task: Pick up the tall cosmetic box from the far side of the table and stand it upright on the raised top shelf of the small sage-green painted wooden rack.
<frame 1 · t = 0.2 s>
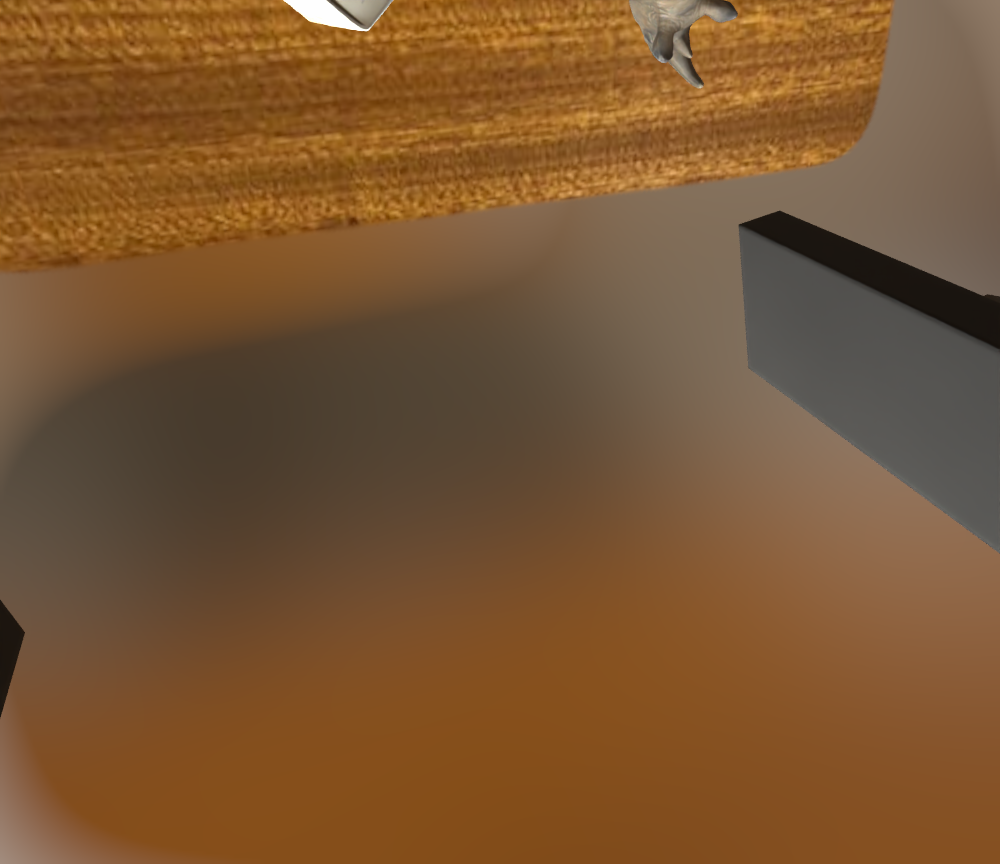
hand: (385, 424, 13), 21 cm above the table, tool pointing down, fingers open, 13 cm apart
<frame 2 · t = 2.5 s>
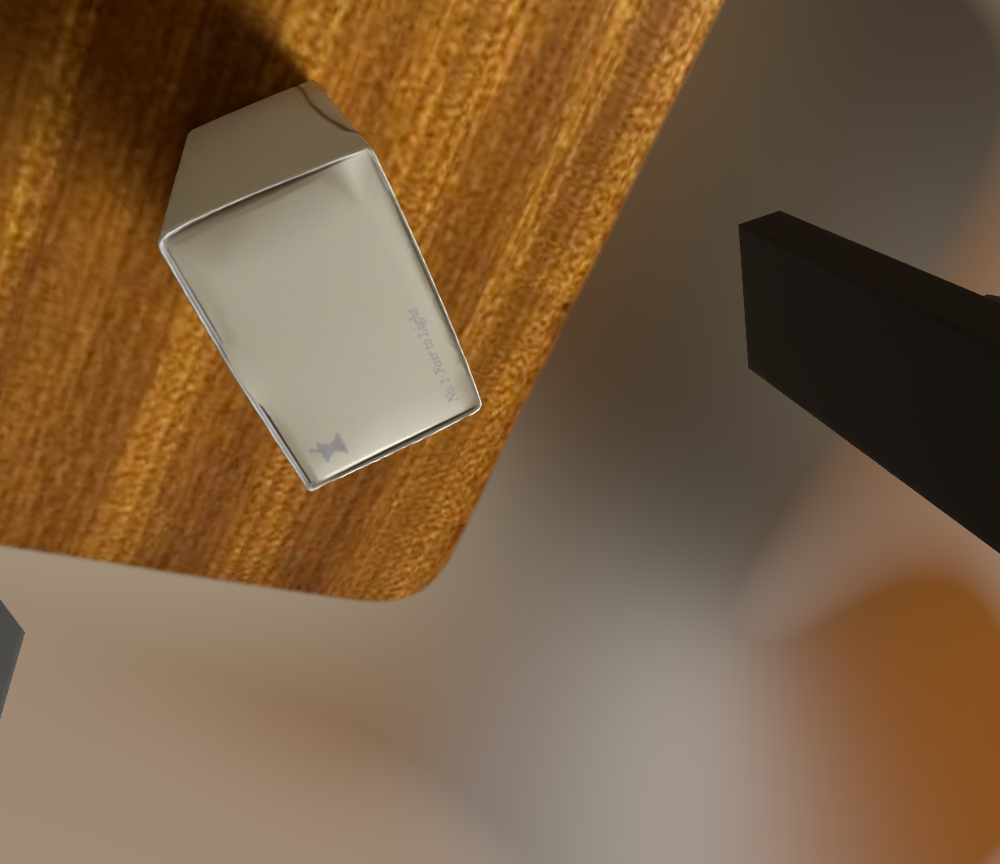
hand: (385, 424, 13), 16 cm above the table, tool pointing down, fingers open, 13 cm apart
cosmetic box: (289, 195, 26), on the table
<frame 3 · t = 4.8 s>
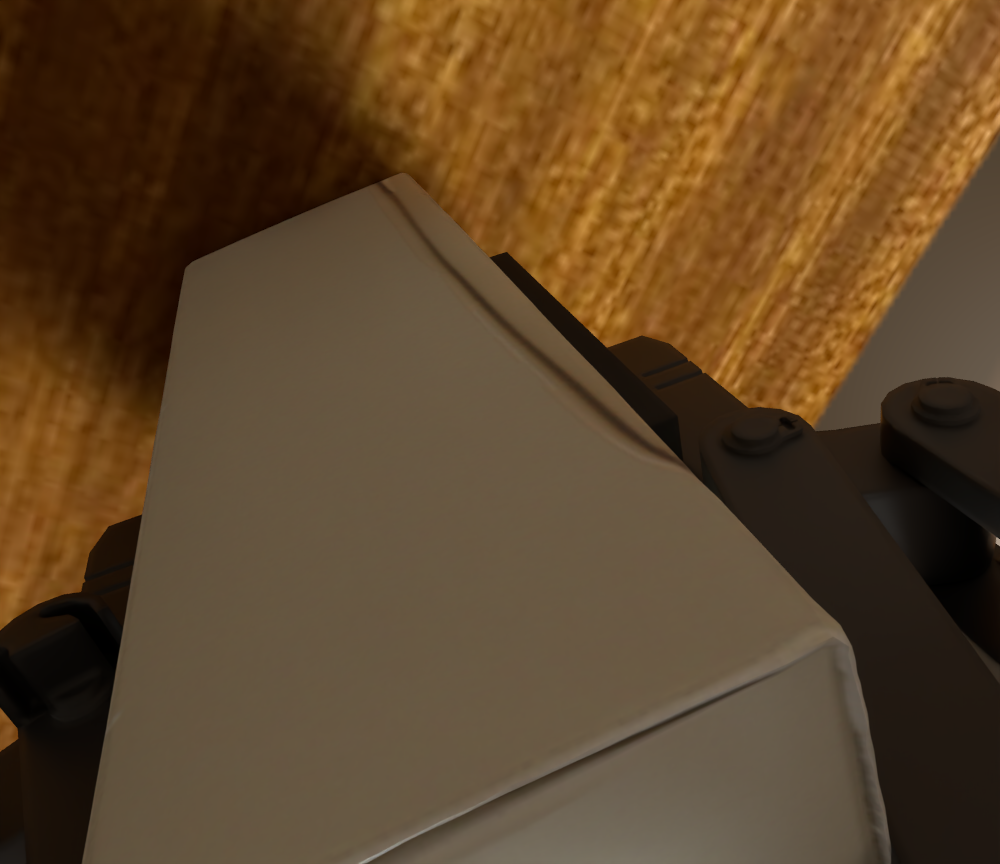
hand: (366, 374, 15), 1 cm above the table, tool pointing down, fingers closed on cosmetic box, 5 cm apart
cosmetic box: (355, 356, 16), on the table, touching gripper
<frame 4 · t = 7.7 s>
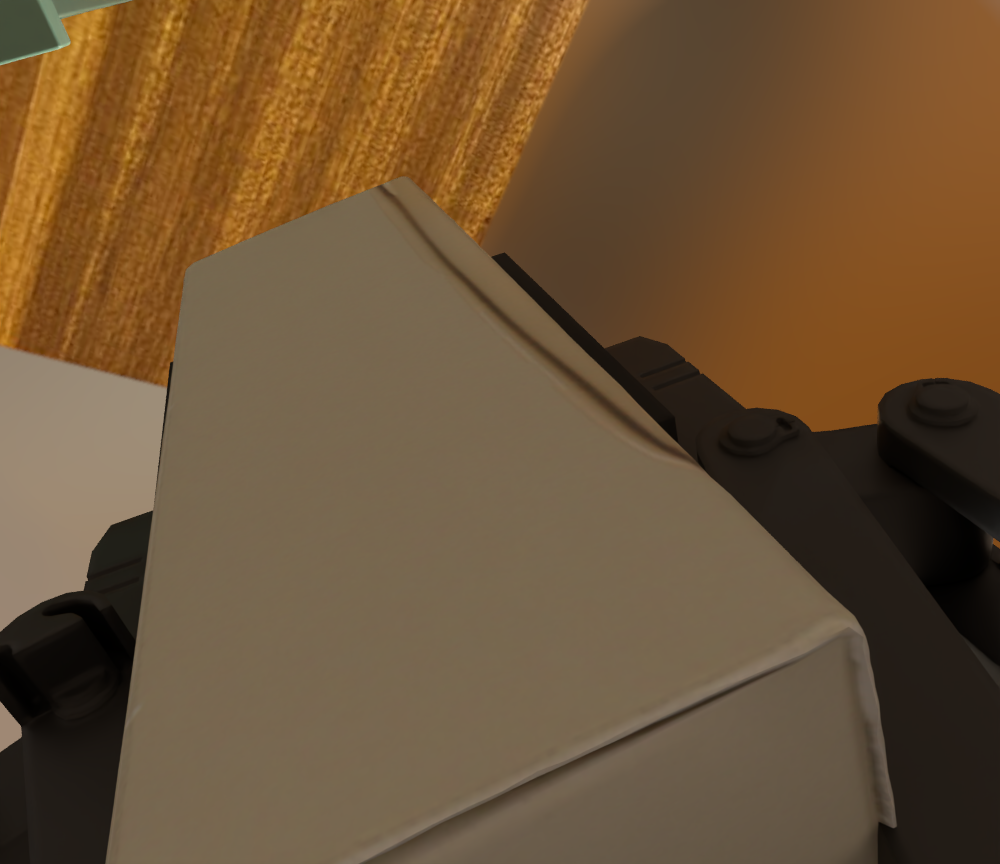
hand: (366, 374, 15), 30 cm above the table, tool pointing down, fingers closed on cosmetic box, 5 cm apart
cosmetic box: (354, 358, 16), point 29 cm above the table, touching gripper
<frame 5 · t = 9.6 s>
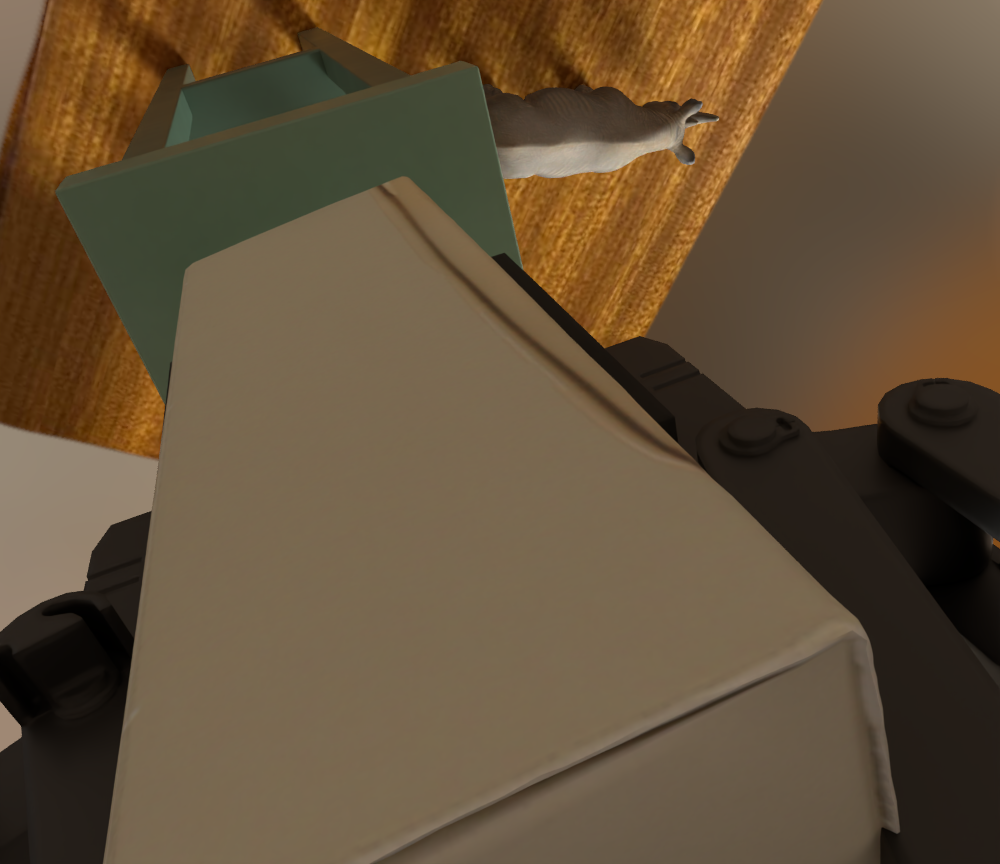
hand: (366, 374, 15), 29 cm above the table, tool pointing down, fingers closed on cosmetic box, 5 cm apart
rack stand: (271, 127, 39), on the table
rack: (343, 321, 17), resting on rack stand
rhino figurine: (568, 120, 43), on the table
cosmetic box: (354, 358, 16), point 28 cm above the table, touching gripper
when the fingers open (27 cm above the table, at t = 10.5 s): cosmetic box stays where it is, resting on rack.
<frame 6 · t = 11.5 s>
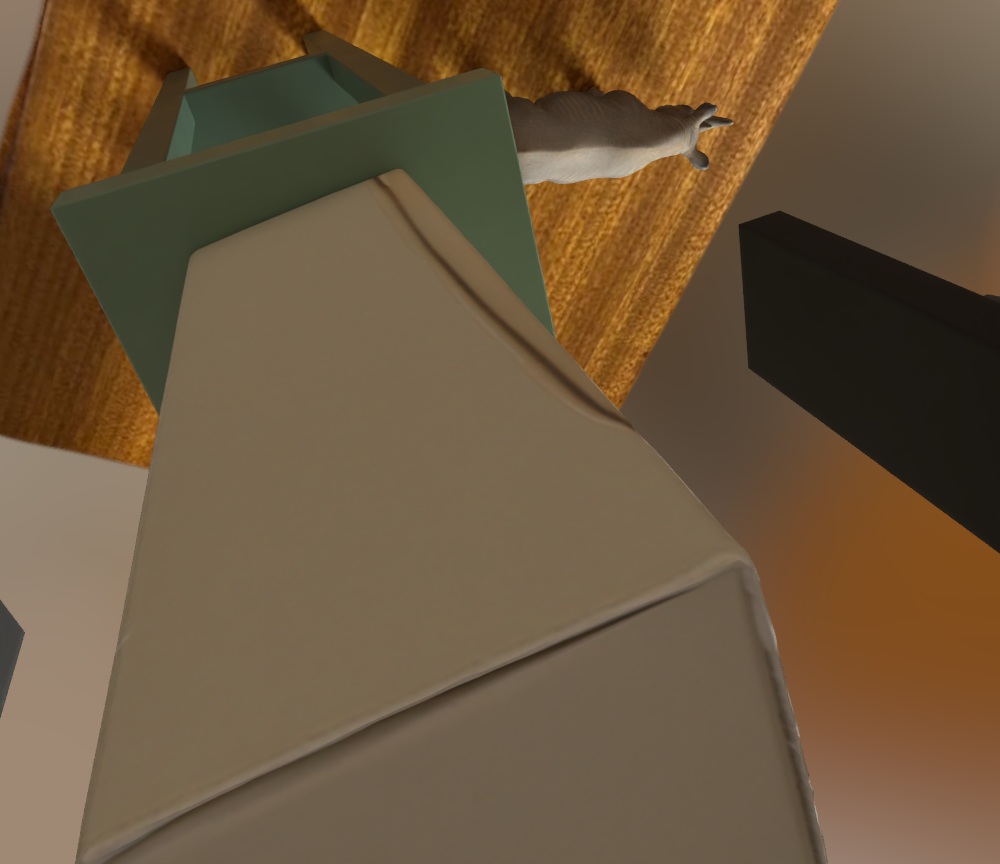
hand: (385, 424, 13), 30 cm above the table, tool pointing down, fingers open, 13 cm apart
rack stand: (275, 131, 38), on the table
rack: (356, 343, 16), resting on rack stand
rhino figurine: (579, 124, 42), on the table
cosmetic box: (351, 343, 16), point 26 cm above the table, touching rack
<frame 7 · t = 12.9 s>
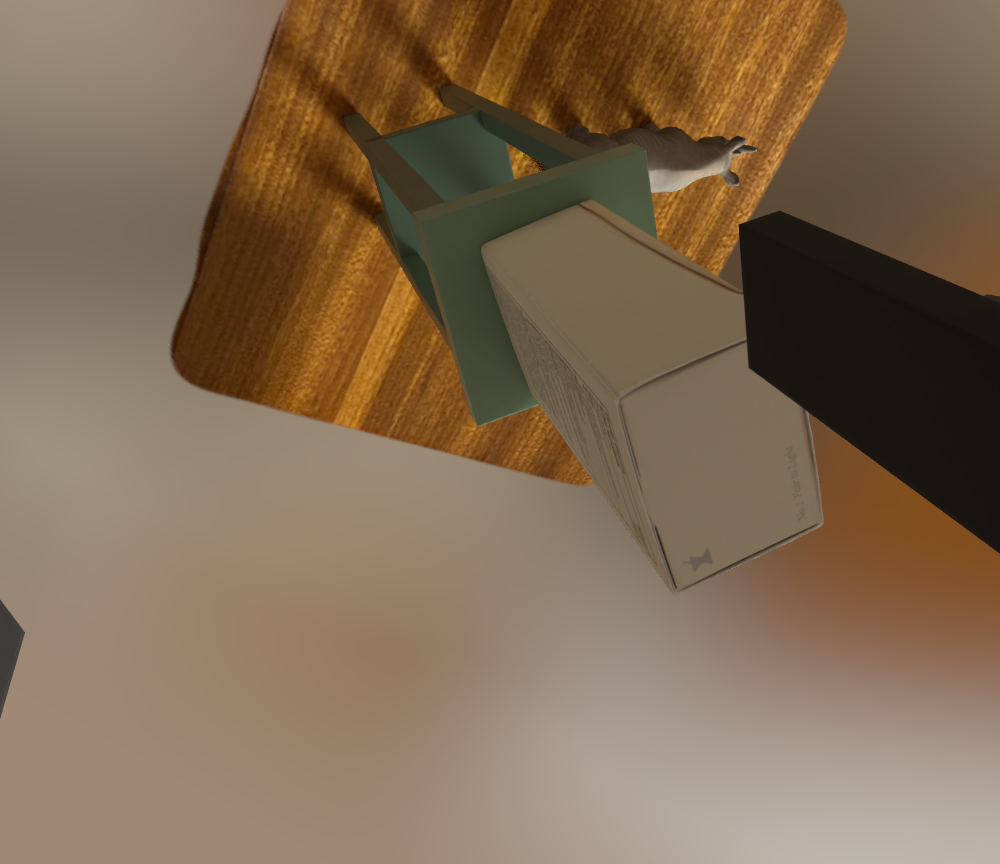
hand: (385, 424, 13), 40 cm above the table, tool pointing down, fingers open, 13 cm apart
rack stand: (415, 158, 51), on the table
rack: (557, 295, 29), resting on rack stand
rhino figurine: (638, 150, 55), on the table
cosmetic box: (553, 296, 29), point 26 cm above the table, touching rack
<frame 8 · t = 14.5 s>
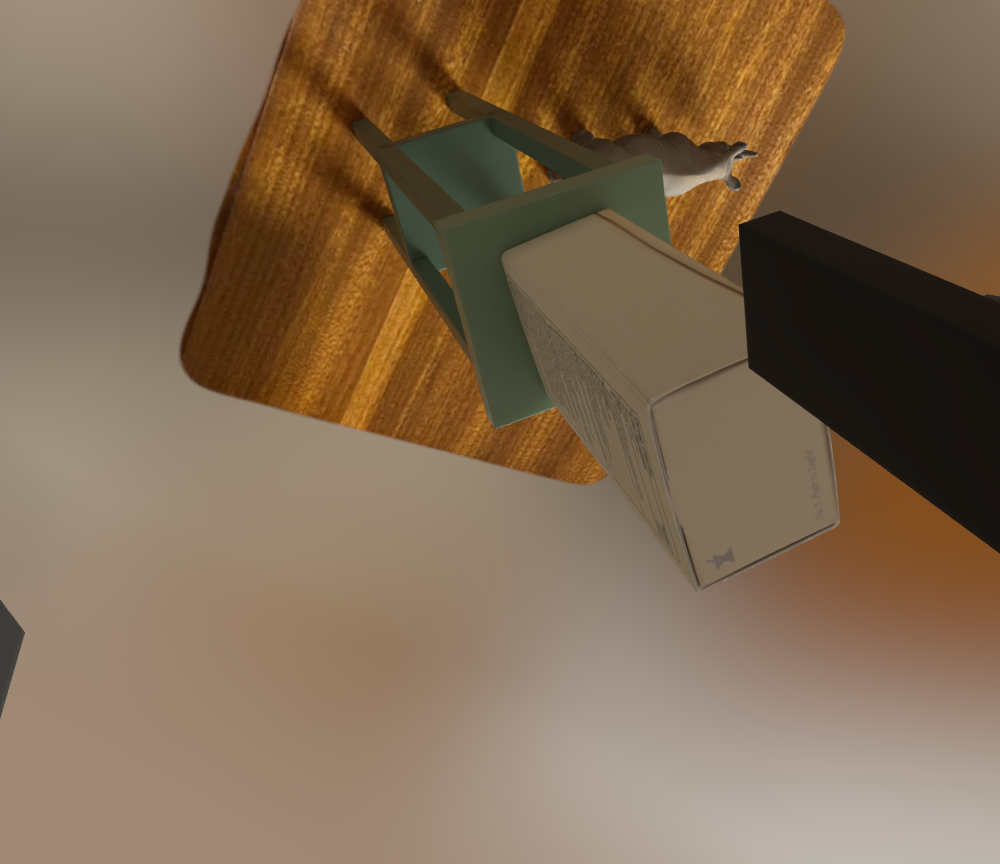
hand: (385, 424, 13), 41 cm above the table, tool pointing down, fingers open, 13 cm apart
rack stand: (422, 163, 52), on the table
rack: (574, 301, 30), resting on rack stand
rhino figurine: (640, 155, 56), on the table
cosmetic box: (570, 302, 30), point 26 cm above the table, touching rack
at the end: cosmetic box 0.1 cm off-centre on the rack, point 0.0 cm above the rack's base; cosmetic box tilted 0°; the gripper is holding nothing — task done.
